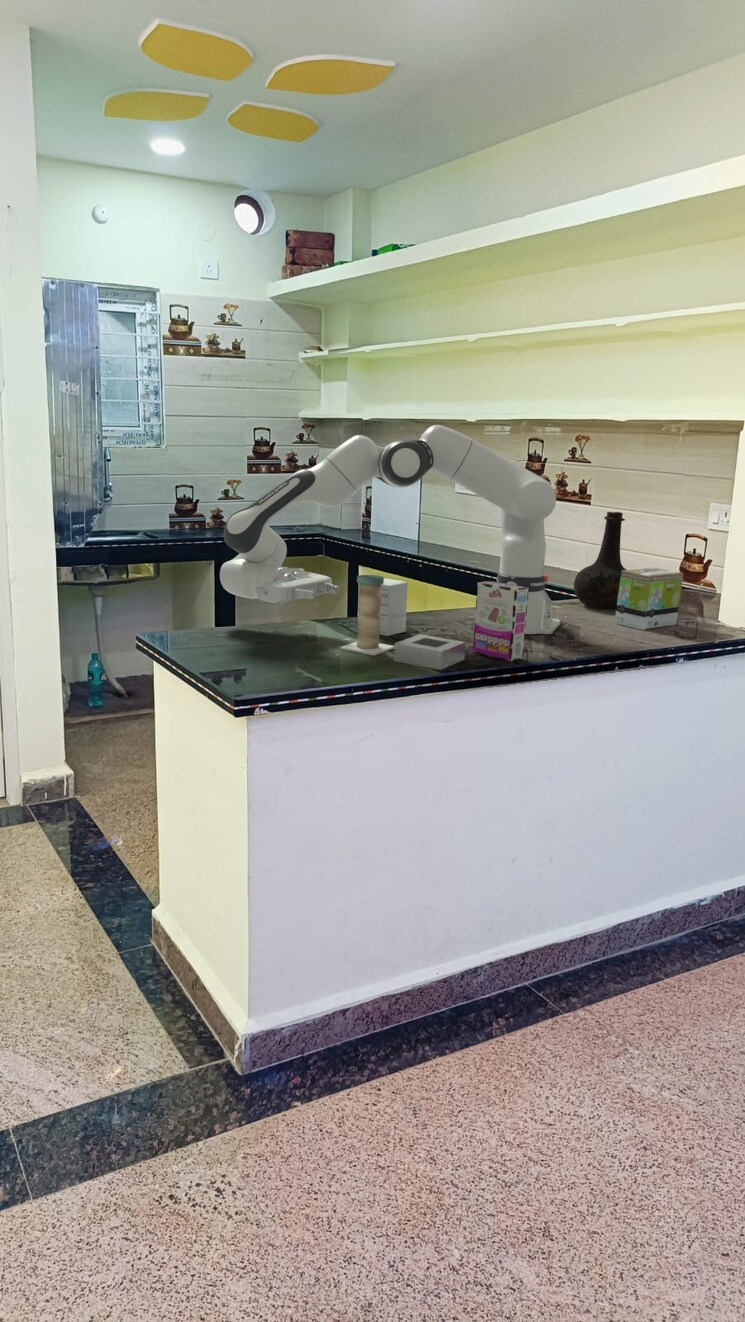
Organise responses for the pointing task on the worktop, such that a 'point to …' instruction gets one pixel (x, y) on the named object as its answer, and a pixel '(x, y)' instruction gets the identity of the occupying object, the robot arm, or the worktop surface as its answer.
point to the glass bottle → (603, 569)
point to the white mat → (373, 652)
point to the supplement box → (393, 607)
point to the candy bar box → (500, 620)
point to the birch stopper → (369, 611)
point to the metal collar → (429, 651)
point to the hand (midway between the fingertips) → (326, 592)
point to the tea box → (648, 598)
